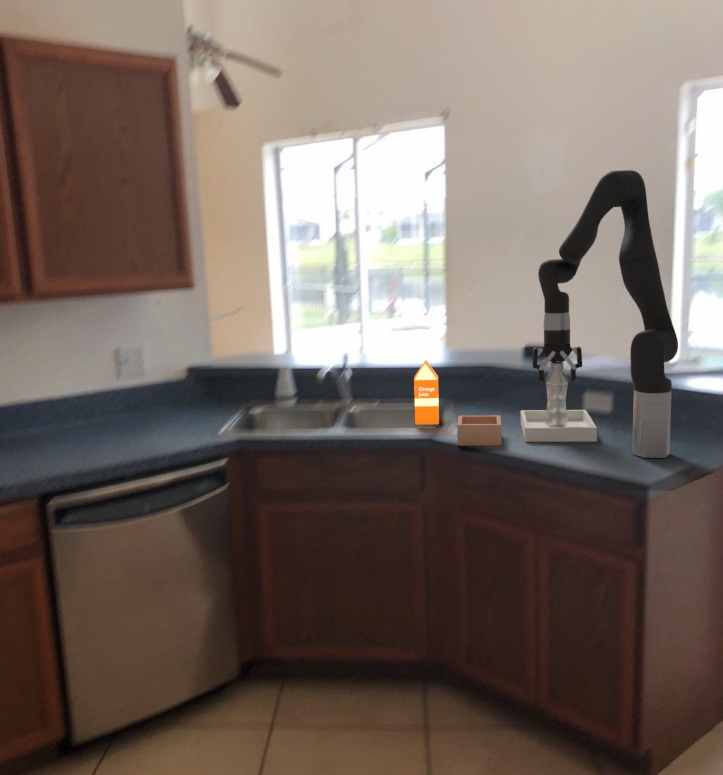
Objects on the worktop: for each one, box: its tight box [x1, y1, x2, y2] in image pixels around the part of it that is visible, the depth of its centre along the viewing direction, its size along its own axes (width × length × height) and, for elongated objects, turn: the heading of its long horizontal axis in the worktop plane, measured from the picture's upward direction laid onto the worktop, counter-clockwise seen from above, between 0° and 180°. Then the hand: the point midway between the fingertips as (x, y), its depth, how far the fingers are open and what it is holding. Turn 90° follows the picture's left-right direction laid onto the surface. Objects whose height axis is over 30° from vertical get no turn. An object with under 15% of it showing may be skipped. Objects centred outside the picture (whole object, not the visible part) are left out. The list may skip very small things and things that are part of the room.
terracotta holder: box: [456, 414, 503, 446], centre depth 225 cm, size 12×12×6 cm
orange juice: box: [413, 359, 440, 425], centre depth 251 cm, size 8×9×20 cm
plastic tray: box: [520, 409, 598, 443], centre depth 232 cm, size 24×20×4 cm
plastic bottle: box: [545, 361, 569, 427], centre depth 230 cm, size 6×7×20 cm
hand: (557, 381), depth 229 cm, fingers open, 8 cm apart
